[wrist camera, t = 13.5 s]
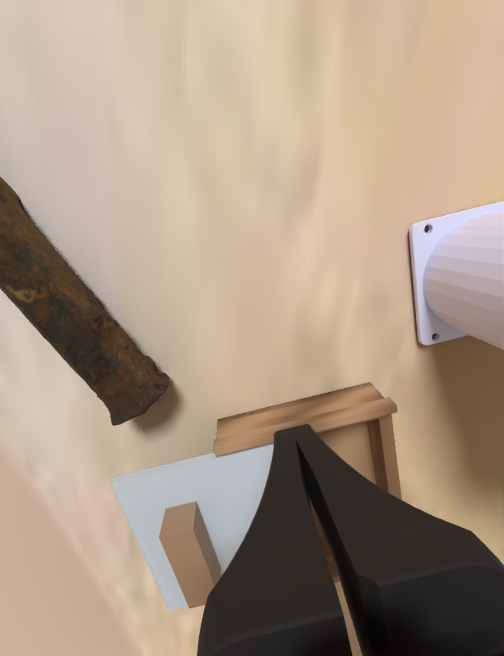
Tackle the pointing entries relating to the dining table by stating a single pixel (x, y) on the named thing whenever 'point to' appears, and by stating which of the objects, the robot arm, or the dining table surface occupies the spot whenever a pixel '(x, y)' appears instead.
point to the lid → (193, 517)
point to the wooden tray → (327, 435)
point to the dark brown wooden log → (72, 317)
